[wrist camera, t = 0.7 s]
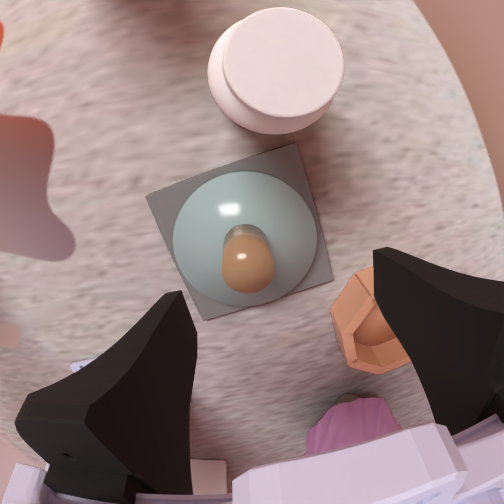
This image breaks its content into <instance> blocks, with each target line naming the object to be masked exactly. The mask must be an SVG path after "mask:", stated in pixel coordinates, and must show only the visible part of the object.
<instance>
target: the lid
mask: <svg viewBox="0 0 504 504" xmlns="http://www.w3.org/2000/svg"><path fill="white" fill-rule="evenodd" d="M316 244H317V232H316V226H315V221H314V219H313V216H312V213H311V211H310V209H309V207H308V205H307V204H306V203H305V201H304V200H303V198H302V197H301V196H300V195H299V194H298V193H297V192H296V191H295V190H294V189H293V188H292V187H291V186H290V185H288V184H287V183H286V182H284V181H282V180H281V179H279V178H277V177H275V176H272V175H270V174H266V173H263V172H258V171H250V170H246V171H233V172H228V173H225V174H221V175H219V176H216V177H214V178H212V179H210V180H208V181H207V182H205V183H203V184H202V185H201V186H200V187H198V188H197V189H196V190H195V191H194V192H193V193H192V194H191V195H190V196H189V198H188V199H187V201H186V202H185V203H184V205H183V207H182V209H181V211H180V213H179V215H178V217H177V220H176V223H175V227H174V232H173V248H174V254H175V258H176V261H177V264H178V266H179V268H180V270H181V272H182V274H183V275H184V277H185V278H186V279H187V281H188V282H189V283H190V284H191V285H192V286H193V287H194V288H195V289H196V290H198V291H199V292H200V293H202V294H203V295H205V296H206V297H208V298H210V299H212V300H214V301H217V302H220V303H223V304H227V305H232V306H255V305H260V304H264V303H268V302H271V301H273V300H276V299H278V298H280V297H281V296H283V295H285V294H286V293H288V292H289V291H291V290H292V289H293V288H294V287H295V286H296V285H297V284H298V283H299V282H300V281H301V280H302V279H303V277H304V276H305V275H306V273H307V272H308V270H309V268H310V266H311V264H312V261H313V259H314V255H315V251H316Z"/></svg>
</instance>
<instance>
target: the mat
mask: <svg viewBox="0 0 504 504" xmlns="http://www.w3.org/2000/svg"><path fill="white" fill-rule="evenodd" d="M246 170H250V171H258V172H263V173H266V174H270V175H272V176H275V177H277V178H279V179H281V180H282V181H284V182H286V183H287V184H288V185H290V186H291V187H292V188H293V189H294V190H295V191H296V192H297V193H298V194H299V195H300V196H301V197H302V198H303V200H304V201H305V203H306V204H307V205H308V207H309V209H310V211H311V213H312V216H313V219H314V221H315V226H316V232H317V244H316V251H315V255H314V259H313V261H312V264H311V266H310V268H309V270H308V272H307V273H306V275H305V276H304V277H303V279H302V280H301V281H300V282H299V283H298V284H297V285H296V286H295V287H294V288H293V289H292V290H291V291H289V292H288V293H286V294H285V295H283V296H286V295H289V294H292V293H295V292H298V291H301V290H304V289H307V288H310V287H313V286H316V285H319V284H322V283H325V282H328V281H331V280H333V277H332V272H331V268H330V264H329V260H328V256H327V251H326V247H325V243H324V239H323V235H322V231H321V228H320V224H319V220H318V216H317V212H316V209H315V205H314V201H313V198H312V194H311V190H310V187H309V183H308V180H307V176H306V173H305V169H304V166H303V163H302V159H301V156H300V153H299V149H298V146H297V143H293V144H289V145H286V146H283V147H280V148H276V149H273V150H270V151H267V152H264V153H261V154H257V155H254V156H251V157H248V158H245V159H242V160H239V161H236V162H233V163H231V164H228V165H225V166H222V167H219V168H216V169H213V170H211V171H208V172H205V173H202V174H200V175H197V176H194V177H192V178H189V179H186V180H184V181H181V182H178V183H176V184H173V185H171V186H168V187H166V188H163V189H161V190H158V191H156V192H153V193H151V194H148V195H146V196H145V197H146V199H147V202H148V204H149V207H150V209H151V211H152V213H153V216H154V218H155V220H156V223H157V225H158V227H159V229H160V232H161V234H162V236H163V238H164V241H165V243H166V245H167V247H168V249H169V251H170V254H171V256H172V258H173V260H174V262H175V264H176V267H177V269H178V271H179V273H180V275H181V277H182V279H183V281H184V283H185V285H186V287H187V289H188V291H189V294H190V296H191V298H192V300H193V302H194V304H195V306H196V308H197V310H198V312H199V314H200V316H201V318H202V320H203V321H204V320H207V319H211V318H214V317H218V316H221V315H225V314H228V313H231V312H235V311H238V310H241V309H245V308H248V307H251V306H232V305H227V304H223V303H220V302H217V301H214V300H212V299H210V298H208V297H206V296H205V295H203V294H202V293H200V292H199V291H198V290H196V289H195V288H194V287H193V286H192V285H191V284H190V283H189V282H188V281H187V279H186V278H185V277H184V275H183V274H182V272H181V270H180V268H179V266H178V264H177V261H176V258H175V254H174V248H173V232H174V227H175V223H176V220H177V217H178V215H179V213H180V211H181V209H182V207H183V205H184V203H185V202H186V201H187V199H188V198H189V196H190V195H191V194H192V193H193V192H194V191H195V190H196V189H197V188H198V187H200V186H201V185H202V184H203V183H205V182H207V181H208V180H210V179H212V178H214V177H216V176H219V175H221V174H225V173H228V172H233V171H246ZM283 296H281V297H283Z"/></svg>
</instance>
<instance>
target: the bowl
mask: <svg viewBox="0 0 504 504" xmlns="http://www.w3.org/2000/svg"><path fill="white" fill-rule="evenodd" d="M330 312H331V316H332V321H333V325H334V329H335V334H336V338H337V342H338V344H339V346H340V349H341V351H342V353H343V356H344V358H345V360H346V363H347V365H348V366H349V367H352V368H355V369H359V370H363V371H366V372H370V373H374V374H377V375H378V374H383V373H385V372H388V371H390V370H392V369H395V368H397V367H400V366H402V365H404V364H407V363H409V362H411V360H410V358H409V356H408V355H407V353H406V351H405V350H404V348H403V347H402V345H401V343H400V342H399V340H398V339H397V337H396V336H395V334H394V333H393V331H392V329H391V328H390V326H389V325H388V323H387V322H386V320H385V318H384V317H383V315H382V313H381V311H380V309H379V307H378V304H377V302H376V300H375V298H374V272H373V266H372V267H370V268H367V269H364V270H361V271H358V272H356V275H355V274H353V276H352V277H351V279H350V280H349V282H348V283H347V285H346V286H345V288H344V289H343V291H342V292H341V294H340V295H339V297H338V298H337V300H336V301H335V303H334V304H333V306H332V307H331V310H330Z"/></svg>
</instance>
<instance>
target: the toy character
mask: <svg viewBox="0 0 504 504" xmlns="http://www.w3.org/2000/svg"><path fill="white" fill-rule="evenodd" d="M401 429H402V428H401V426H400V425H399V424H398V423H397V421H396V419H395V418H394V417H393V415H392V412H391V411H390V409H389V407H388V404H387V403H386V402H385V401H384V398H383V397H380V398H375V397H370V398H359V397H357V396H355V395H353V394H344V395H342V396H341V397H340V398H339V399H338V400H337V401H336V403H335V405H334V406H333V407H331V408H330V409H329V410H328V411H327V412H326V413H325V415H324V416H323V417H322V418H321V419H320V420H319V421H318V423H317V424H316V425H314V426H313V427H311V428H310V430H309V432H308V434H307V440H306V446H307V452H306V453H305V454H304V456H307V455H312V454H316V453H321V452H325V451H330V450H334V449H338V448H342V447H346V446H349V445H353V444H357V443H360V442H364V441H367V440H370V439H374V438H377V437H380V436H383V435H386V434H389V433H392V432H395V431H398V430H401Z"/></svg>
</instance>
